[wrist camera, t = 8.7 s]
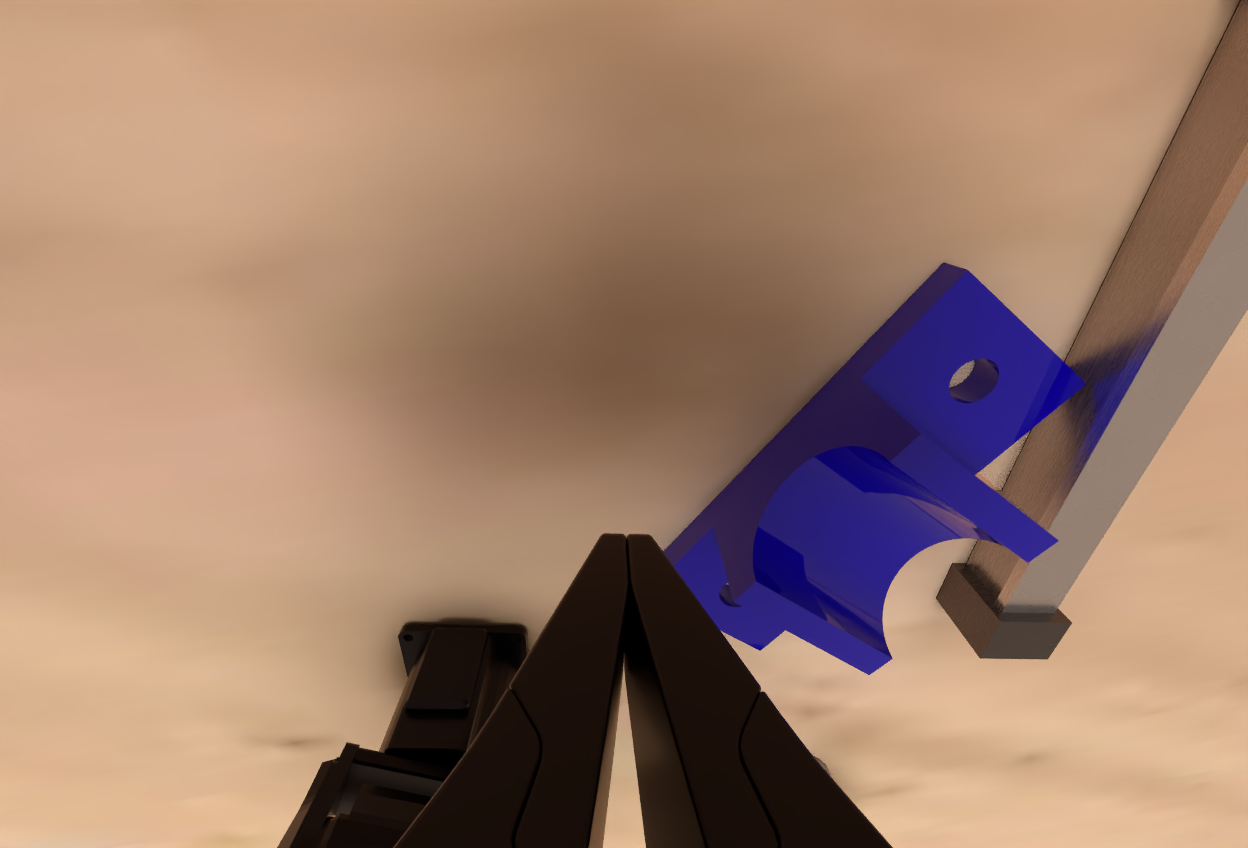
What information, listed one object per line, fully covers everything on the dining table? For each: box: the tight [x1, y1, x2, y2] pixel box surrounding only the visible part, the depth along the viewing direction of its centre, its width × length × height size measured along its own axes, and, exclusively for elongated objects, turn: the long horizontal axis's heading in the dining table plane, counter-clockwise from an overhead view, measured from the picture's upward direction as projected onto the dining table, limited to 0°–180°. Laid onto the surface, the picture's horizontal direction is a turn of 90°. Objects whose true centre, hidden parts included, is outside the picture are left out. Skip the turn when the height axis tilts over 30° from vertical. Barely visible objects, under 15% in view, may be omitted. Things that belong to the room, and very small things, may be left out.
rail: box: [936, 0, 1248, 659], centre depth 18 cm, size 27×3×4 cm, turn 177°
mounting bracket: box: [663, 263, 1086, 675], centre depth 20 cm, size 18×7×6 cm, turn 145°
